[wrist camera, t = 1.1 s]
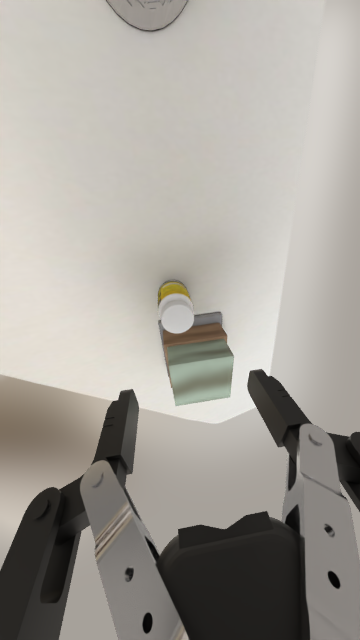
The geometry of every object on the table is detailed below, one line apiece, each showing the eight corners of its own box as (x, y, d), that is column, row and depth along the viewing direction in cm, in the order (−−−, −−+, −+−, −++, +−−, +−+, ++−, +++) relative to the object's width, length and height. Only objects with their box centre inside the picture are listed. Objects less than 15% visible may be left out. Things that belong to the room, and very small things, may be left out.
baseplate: (158, 320, 29) (158, 323, 28) (220, 312, 30) (222, 314, 29) (168, 372, 36) (168, 376, 35) (218, 365, 36) (220, 368, 35)
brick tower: (162, 330, 29) (164, 363, 22) (219, 322, 29) (237, 352, 23) (169, 371, 34) (172, 408, 27) (217, 363, 34) (232, 398, 28)
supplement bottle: (154, 283, 26) (153, 305, 18) (184, 276, 26) (194, 296, 18) (161, 310, 28) (163, 339, 21) (189, 304, 28) (200, 331, 21)
